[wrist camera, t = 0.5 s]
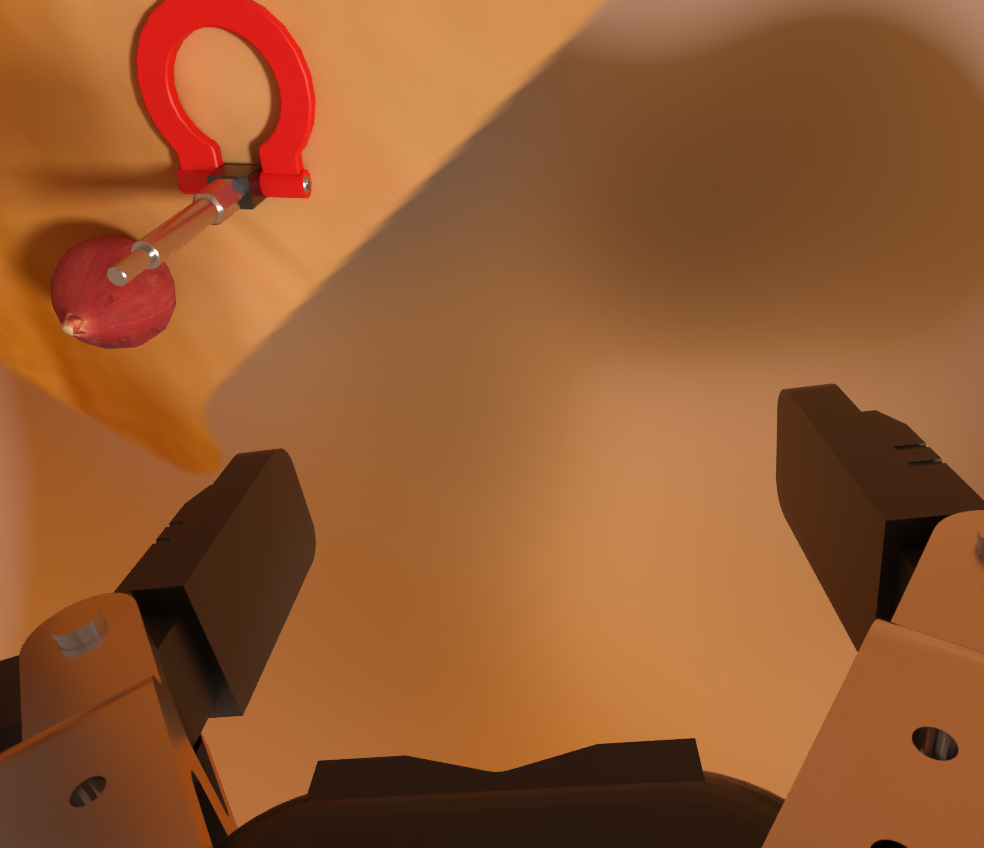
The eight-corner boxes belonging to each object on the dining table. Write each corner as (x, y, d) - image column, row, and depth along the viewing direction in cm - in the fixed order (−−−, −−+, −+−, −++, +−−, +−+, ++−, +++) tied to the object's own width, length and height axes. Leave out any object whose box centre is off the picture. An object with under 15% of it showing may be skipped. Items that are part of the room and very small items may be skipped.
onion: (215, 305, 42) (147, 381, 35) (127, 310, 43) (46, 385, 36) (176, 209, 38) (93, 275, 32) (82, 217, 39) (-16, 283, 33)
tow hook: (125, -15, 32) (178, 189, 38) (-98, 14, 22) (19, 292, 27) (304, -13, 31) (331, 195, 37) (161, 17, 21) (228, 302, 26)
